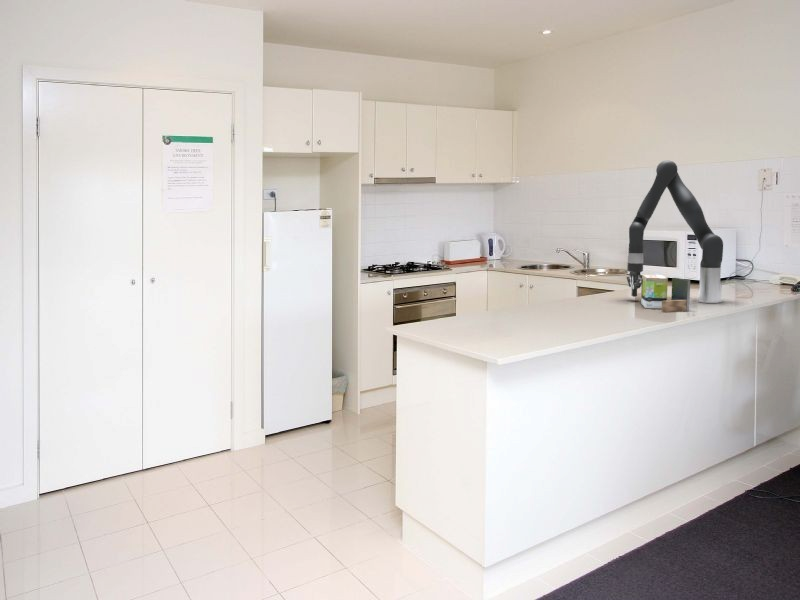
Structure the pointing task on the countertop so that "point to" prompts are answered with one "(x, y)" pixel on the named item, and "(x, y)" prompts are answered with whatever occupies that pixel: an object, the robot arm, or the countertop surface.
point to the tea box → (653, 290)
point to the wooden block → (674, 305)
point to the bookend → (681, 290)
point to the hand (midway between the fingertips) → (634, 296)
